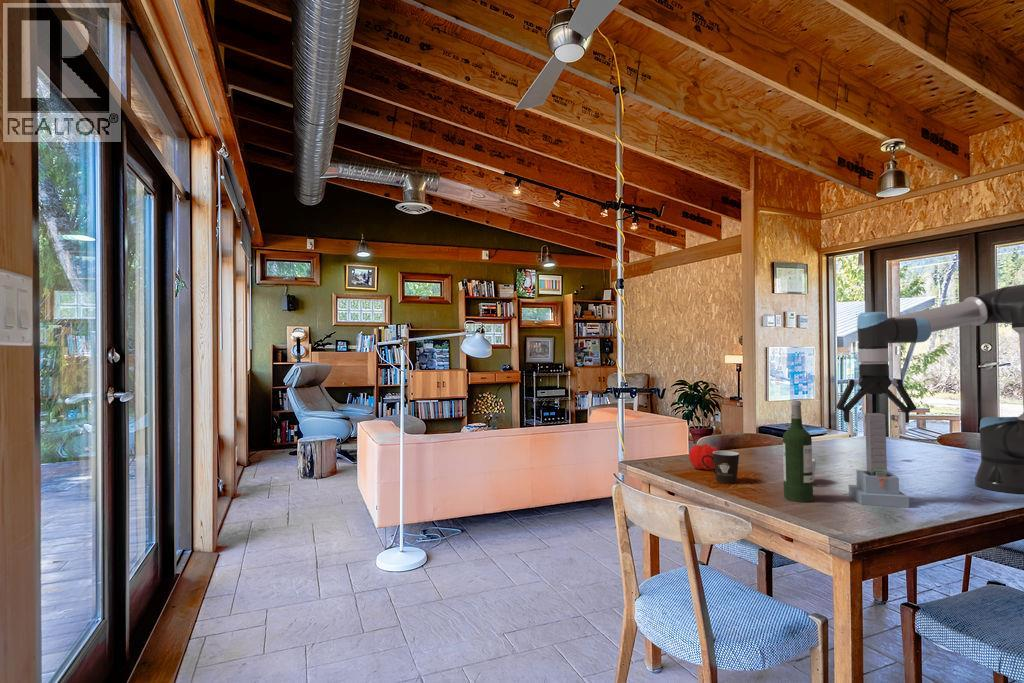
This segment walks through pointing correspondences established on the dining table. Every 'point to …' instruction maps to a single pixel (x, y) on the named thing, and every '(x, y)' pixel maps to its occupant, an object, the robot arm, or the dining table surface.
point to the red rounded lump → (699, 452)
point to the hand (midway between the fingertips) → (876, 433)
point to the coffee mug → (724, 466)
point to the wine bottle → (797, 459)
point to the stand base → (878, 490)
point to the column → (875, 443)
